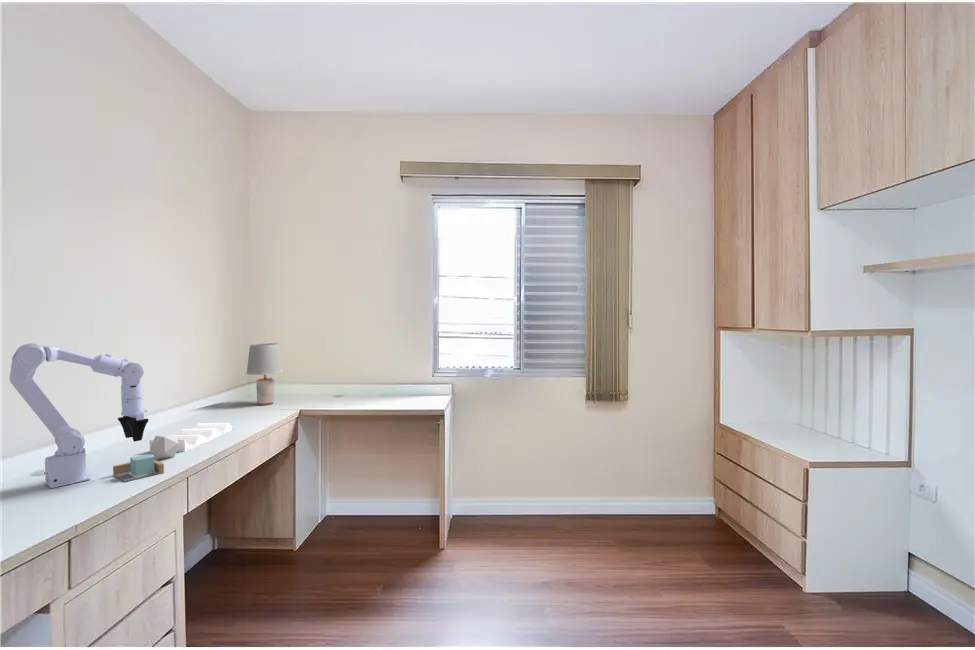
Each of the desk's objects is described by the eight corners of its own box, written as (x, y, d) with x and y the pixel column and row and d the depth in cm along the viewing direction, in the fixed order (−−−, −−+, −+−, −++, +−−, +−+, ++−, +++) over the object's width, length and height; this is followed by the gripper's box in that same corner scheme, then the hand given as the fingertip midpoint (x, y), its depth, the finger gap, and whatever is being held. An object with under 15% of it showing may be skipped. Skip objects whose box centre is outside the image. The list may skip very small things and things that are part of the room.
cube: (154, 472, 157) (154, 456, 157) (136, 476, 153) (135, 460, 153) (149, 469, 160) (148, 454, 160) (130, 473, 156) (130, 457, 156)
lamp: (290, 401, 284) (289, 343, 283) (271, 407, 266) (269, 345, 265) (261, 400, 288) (259, 343, 287) (240, 406, 269) (238, 345, 268)
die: (181, 454, 181) (163, 433, 180) (188, 445, 176) (170, 424, 175) (158, 468, 174) (140, 447, 173) (166, 460, 169) (147, 438, 168)
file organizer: (233, 430, 217) (233, 419, 217) (185, 453, 182) (184, 439, 182) (204, 431, 217) (204, 419, 217) (150, 454, 182) (149, 440, 182)
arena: (124, 482, 149) (124, 472, 149) (113, 475, 156) (113, 466, 156) (163, 472, 157) (163, 463, 157) (151, 466, 164) (151, 457, 164)
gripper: (154, 398, 160) (155, 439, 161) (138, 394, 169) (140, 433, 170) (128, 402, 155) (130, 444, 155) (113, 397, 164) (115, 437, 164)
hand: (133, 439), depth 162 cm, fingers open, 7 cm apart
